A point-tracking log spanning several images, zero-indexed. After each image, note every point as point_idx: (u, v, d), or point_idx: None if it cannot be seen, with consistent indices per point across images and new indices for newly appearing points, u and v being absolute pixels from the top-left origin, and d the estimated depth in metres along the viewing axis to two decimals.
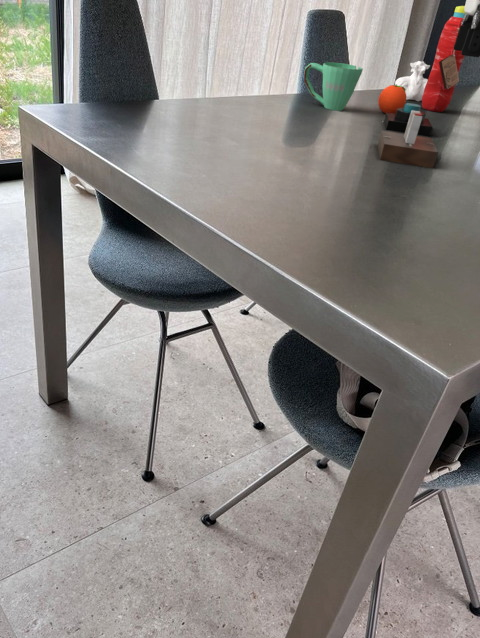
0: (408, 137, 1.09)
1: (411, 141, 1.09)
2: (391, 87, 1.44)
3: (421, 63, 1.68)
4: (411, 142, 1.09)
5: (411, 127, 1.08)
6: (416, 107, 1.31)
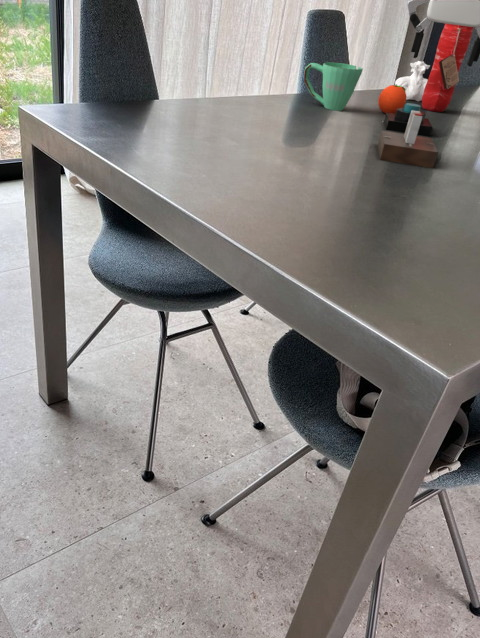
0: (408, 137, 1.09)
1: (411, 141, 1.09)
2: (391, 87, 1.44)
3: (421, 63, 1.68)
4: (411, 142, 1.09)
5: (411, 127, 1.08)
6: (416, 107, 1.31)
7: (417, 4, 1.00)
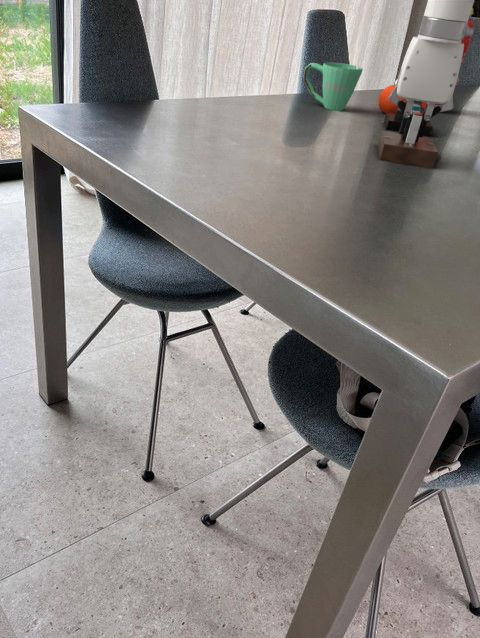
0: (408, 137, 1.09)
1: (411, 141, 1.09)
2: (391, 87, 1.44)
3: None
4: (411, 142, 1.09)
5: (411, 127, 1.08)
6: (416, 107, 1.31)
7: (397, 94, 1.07)
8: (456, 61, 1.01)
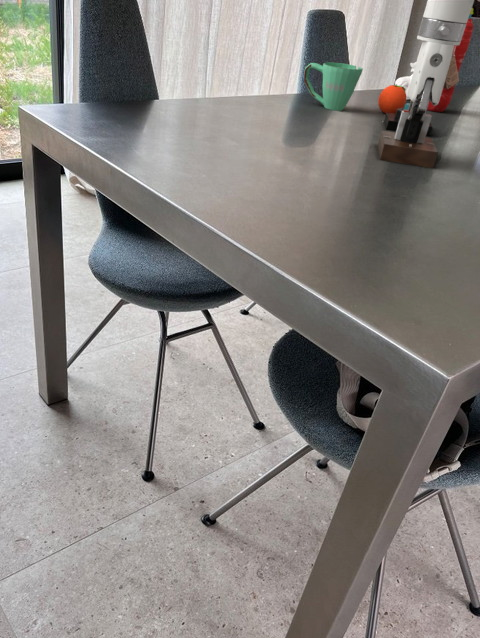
0: (396, 132, 1.11)
1: (395, 136, 1.11)
2: (391, 87, 1.44)
3: None
4: (395, 137, 1.11)
5: (399, 122, 1.10)
6: None
7: None
8: (423, 58, 1.00)
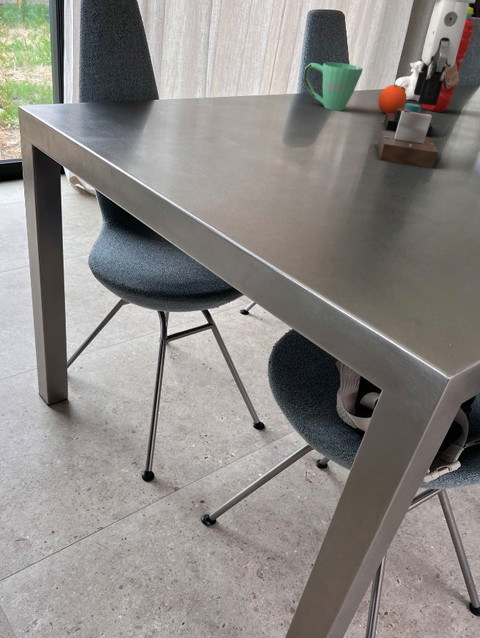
0: (396, 132, 1.11)
1: (395, 136, 1.11)
2: (391, 87, 1.44)
3: (421, 63, 1.68)
4: (395, 137, 1.11)
5: (399, 122, 1.10)
6: (416, 107, 1.31)
7: None
8: (436, 18, 0.97)
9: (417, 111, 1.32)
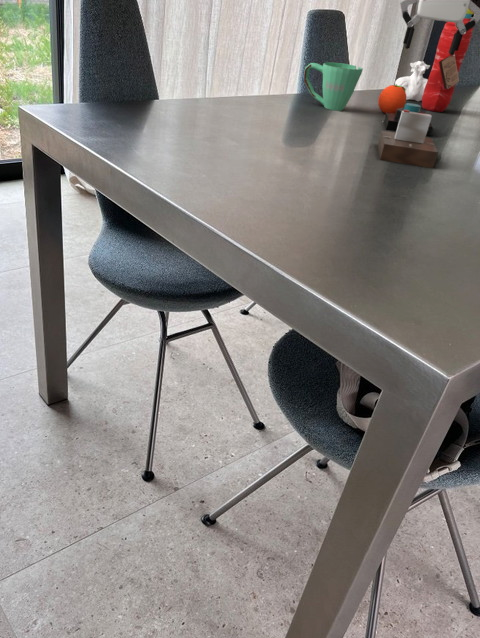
0: (396, 132, 1.11)
1: (395, 136, 1.11)
2: (391, 87, 1.44)
3: (421, 63, 1.68)
4: (395, 137, 1.11)
5: (399, 122, 1.10)
6: (416, 107, 1.31)
7: (408, 4, 1.21)
8: None
9: (417, 111, 1.32)
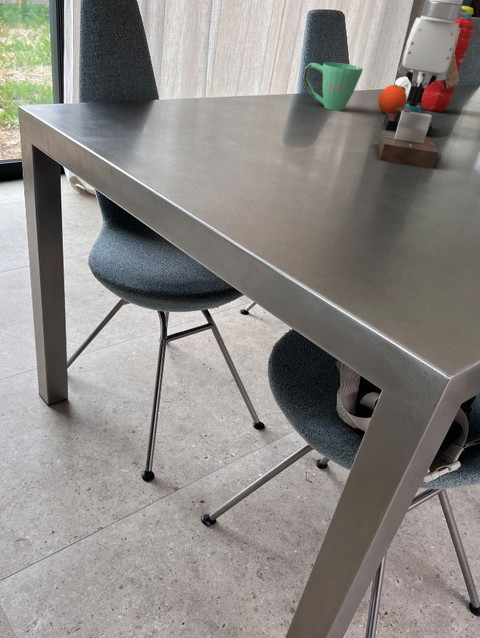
0: (396, 132, 1.11)
1: (395, 136, 1.11)
2: (391, 87, 1.44)
3: None
4: (395, 137, 1.11)
5: (399, 122, 1.10)
6: (416, 107, 1.31)
7: None
8: (452, 38, 1.22)
9: (417, 111, 1.32)
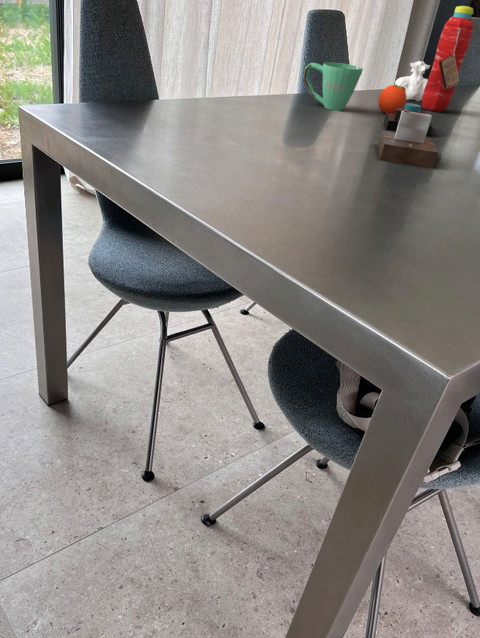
0: (396, 132, 1.11)
1: (395, 136, 1.11)
2: (391, 87, 1.44)
3: (421, 63, 1.68)
4: (395, 137, 1.11)
5: (399, 122, 1.10)
6: (416, 107, 1.31)
7: None
8: None
9: (417, 111, 1.32)
